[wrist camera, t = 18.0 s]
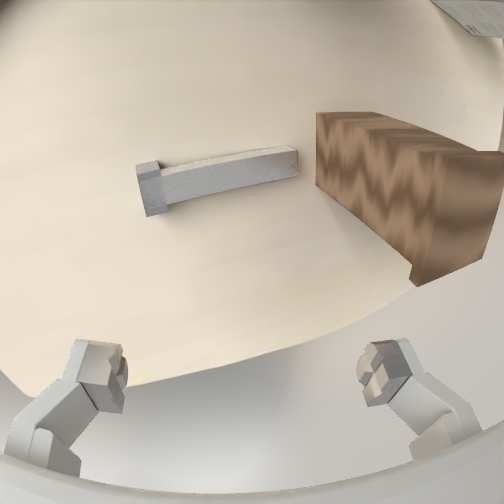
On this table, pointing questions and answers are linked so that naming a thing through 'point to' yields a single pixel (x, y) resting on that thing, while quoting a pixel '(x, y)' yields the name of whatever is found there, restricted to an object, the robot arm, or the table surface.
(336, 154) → the walnut stand
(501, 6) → the hard drive box
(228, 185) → the link bar
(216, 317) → the table surface
